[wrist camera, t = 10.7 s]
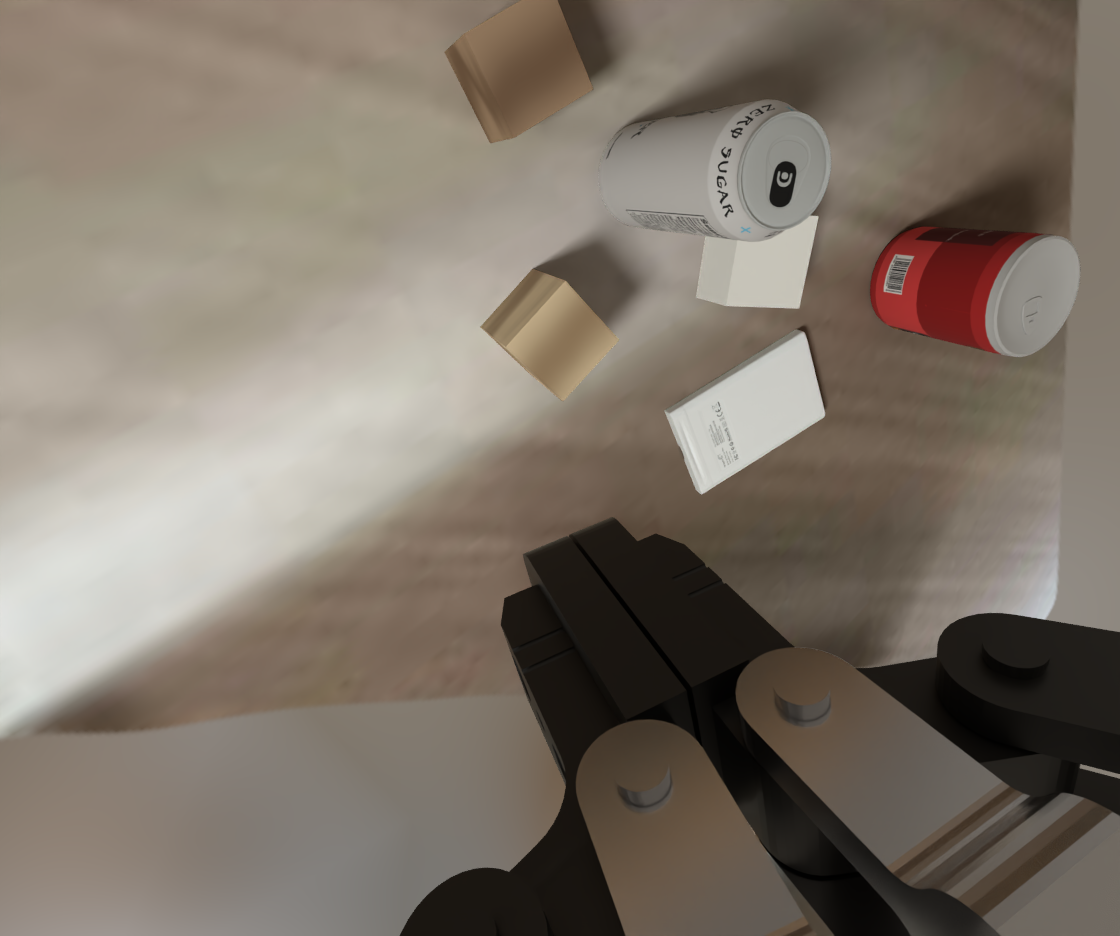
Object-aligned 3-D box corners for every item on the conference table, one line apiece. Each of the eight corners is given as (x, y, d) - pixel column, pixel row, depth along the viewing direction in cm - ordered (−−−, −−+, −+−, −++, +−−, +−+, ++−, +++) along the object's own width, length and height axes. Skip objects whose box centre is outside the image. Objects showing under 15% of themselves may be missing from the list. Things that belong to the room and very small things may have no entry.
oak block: (480, 327, 42) (505, 346, 37) (532, 268, 41) (565, 280, 36) (532, 376, 44) (562, 401, 39) (581, 321, 44) (619, 339, 39)
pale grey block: (708, 207, 44) (742, 209, 41) (780, 214, 46) (818, 216, 43) (694, 296, 46) (726, 305, 43) (763, 299, 49) (798, 308, 45)
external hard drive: (813, 411, 55) (692, 488, 54) (791, 327, 51) (660, 408, 49) (826, 417, 54) (703, 496, 52) (805, 331, 49) (671, 414, 48)
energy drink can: (684, 130, 41) (857, 106, 29) (669, 230, 44) (823, 249, 31) (598, 116, 39) (743, 83, 26) (586, 222, 42) (716, 238, 29)
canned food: (879, 345, 54) (1002, 379, 44) (855, 261, 50) (985, 279, 40) (949, 293, 54) (1086, 316, 45) (931, 205, 50) (1078, 210, 41)
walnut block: (444, 52, 35) (464, 33, 31) (520, 7, 36) (550, -18, 32) (489, 143, 38) (514, 137, 34) (560, 99, 38) (593, 89, 34)
